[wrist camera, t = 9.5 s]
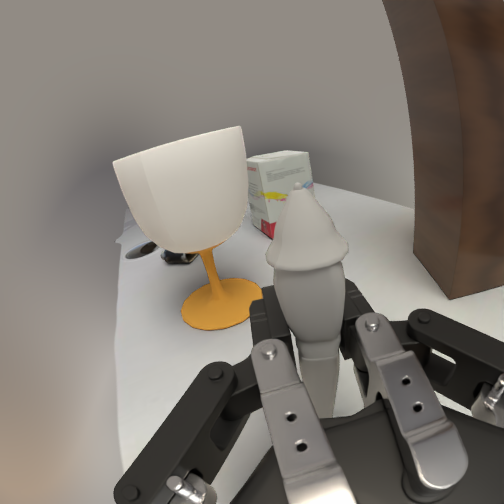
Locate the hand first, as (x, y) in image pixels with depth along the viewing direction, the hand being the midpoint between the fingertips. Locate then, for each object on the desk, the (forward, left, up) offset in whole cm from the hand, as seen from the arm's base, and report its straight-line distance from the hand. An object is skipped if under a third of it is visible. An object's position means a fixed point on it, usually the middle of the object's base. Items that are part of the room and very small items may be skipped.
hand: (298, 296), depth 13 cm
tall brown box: (-19, -13, -9) cm, 25 cm away
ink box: (+2, -33, -9) cm, 34 cm away
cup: (+9, -13, -9) cm, 18 cm away
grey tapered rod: (-1, +3, -8) cm, 9 cm away
